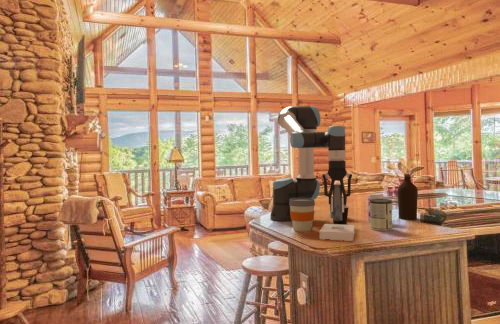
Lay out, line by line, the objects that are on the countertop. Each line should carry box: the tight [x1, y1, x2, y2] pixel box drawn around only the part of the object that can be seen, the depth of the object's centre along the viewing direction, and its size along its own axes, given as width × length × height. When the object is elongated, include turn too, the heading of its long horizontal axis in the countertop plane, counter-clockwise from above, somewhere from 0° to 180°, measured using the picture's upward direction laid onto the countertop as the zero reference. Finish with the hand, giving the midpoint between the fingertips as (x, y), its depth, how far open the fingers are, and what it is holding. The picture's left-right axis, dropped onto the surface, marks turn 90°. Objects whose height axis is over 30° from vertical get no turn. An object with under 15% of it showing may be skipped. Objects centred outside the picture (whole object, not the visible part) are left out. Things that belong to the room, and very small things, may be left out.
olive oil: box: [396, 173, 419, 221], centre depth 212 cm, size 11×11×25 cm
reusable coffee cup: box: [289, 198, 316, 232], centre depth 185 cm, size 12×13×15 cm
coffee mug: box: [332, 205, 349, 225], centre depth 193 cm, size 12×9×10 cm
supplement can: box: [367, 193, 385, 223], centre depth 203 cm, size 8×8×15 cm
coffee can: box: [369, 198, 393, 232], centre depth 184 cm, size 10×10×14 cm
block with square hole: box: [319, 223, 356, 242], centre depth 170 cm, size 18×14×4 cm
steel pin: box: [332, 183, 343, 221], centre depth 170 cm, size 4×4×16 cm
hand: (337, 211), depth 170 cm, fingers closed on steel pin, 4 cm apart
